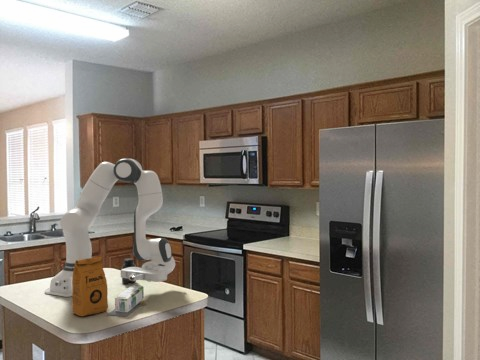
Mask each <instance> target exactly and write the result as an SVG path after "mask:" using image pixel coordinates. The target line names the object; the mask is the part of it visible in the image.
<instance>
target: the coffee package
mask: <svg viewBox="0 0 480 360" xmlns="http://www.w3.org/2000/svg"><path fill="white" fill-rule="evenodd" d="M102 258H103V257H102V256H101V255H100V256H94V257H92V258H88V259H81V260H76V262H75V266H74V272H73V279H72V286H73V287H72V296H71V298H72V314H73V315H77V316H78V317H85V316H87V317H88V316H89V315H90V316H91V315H96V314H99V313H102V312H106V311H107V310H108V308H109V303H108V301H109V299H108V294H109V293H108V284H107V283H108V282H107V277H106V274H105V271H104V267H103V264H102V261H103V260H102Z"/></svg>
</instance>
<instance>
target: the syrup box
mask: <svg viewBox="0 0 480 360" xmlns="http://www.w3.org/2000/svg"><path fill="white" fill-rule="evenodd" d="M144 287H145V286H144V285H130V286H129V287H128V288H126V289H124V291H122V292H121V293H120V294H119V295H117V296H115V297H114V300H115V301H114V309H115V311H119V312H129V311H130V310H131V309H132V308H133V307H134V306H136V305H137V304H138V303H139V302H140V301H143V300H144V299H145V293H144V291H145V289H144Z"/></svg>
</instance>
